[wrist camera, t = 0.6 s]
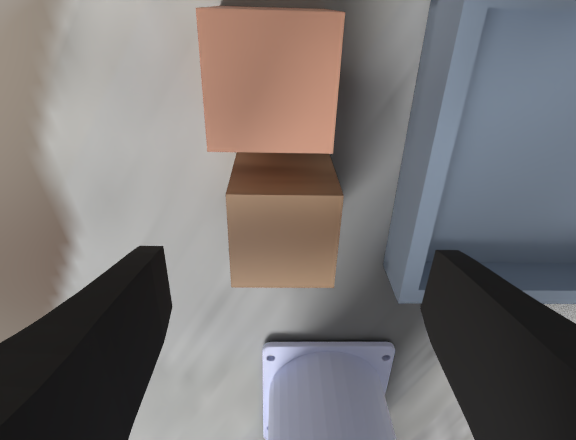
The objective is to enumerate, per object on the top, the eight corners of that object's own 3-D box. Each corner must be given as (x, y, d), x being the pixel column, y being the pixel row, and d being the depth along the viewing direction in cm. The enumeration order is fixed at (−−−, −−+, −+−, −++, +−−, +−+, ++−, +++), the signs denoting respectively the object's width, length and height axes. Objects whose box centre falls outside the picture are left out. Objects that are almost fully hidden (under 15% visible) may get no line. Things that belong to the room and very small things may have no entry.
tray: (617, 266, 21) (665, 304, 19) (382, 265, 21) (398, 303, 18) (769, -9, 15) (875, -11, 12) (434, -19, 14) (469, -23, 12)
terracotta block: (318, 113, 17) (332, 153, 12) (225, 112, 17) (207, 151, 12) (324, 8, 15) (345, 12, 10) (219, 5, 15) (195, 8, 10)
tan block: (321, 223, 19) (333, 287, 15) (241, 222, 19) (231, 287, 15) (327, 147, 17) (343, 195, 13) (238, 146, 17) (225, 194, 13)
